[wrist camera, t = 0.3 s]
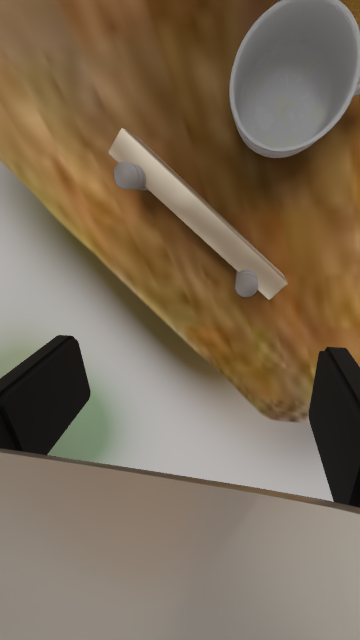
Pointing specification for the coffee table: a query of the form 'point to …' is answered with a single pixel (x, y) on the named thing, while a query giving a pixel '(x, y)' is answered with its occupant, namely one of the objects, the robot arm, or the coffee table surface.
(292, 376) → the coffee table surface
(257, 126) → the teacup
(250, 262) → the bar
